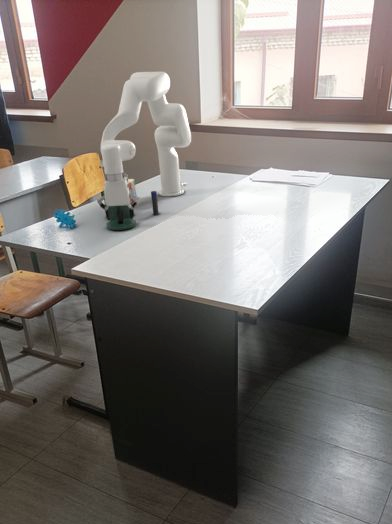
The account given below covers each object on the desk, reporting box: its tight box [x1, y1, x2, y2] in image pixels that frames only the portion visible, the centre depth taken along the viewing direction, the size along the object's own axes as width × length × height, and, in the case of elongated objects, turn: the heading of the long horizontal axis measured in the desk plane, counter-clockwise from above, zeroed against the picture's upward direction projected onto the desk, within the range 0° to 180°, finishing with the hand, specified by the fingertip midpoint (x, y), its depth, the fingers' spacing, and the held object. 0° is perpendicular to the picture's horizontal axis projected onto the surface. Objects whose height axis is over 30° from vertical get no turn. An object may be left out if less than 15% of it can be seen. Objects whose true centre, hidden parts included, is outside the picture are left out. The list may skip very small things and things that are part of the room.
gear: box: [53, 208, 77, 230], centre depth 218 cm, size 11×6×10 cm
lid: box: [105, 210, 137, 231], centre depth 213 cm, size 13×13×7 cm
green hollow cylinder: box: [102, 189, 131, 221], centre depth 224 cm, size 12×12×12 cm
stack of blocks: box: [124, 176, 138, 204], centre depth 240 cm, size 21×6×12 cm, turn 168°
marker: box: [150, 190, 160, 216], centre depth 225 cm, size 2×2×10 cm
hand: (120, 218), depth 214 cm, fingers open, 9 cm apart
